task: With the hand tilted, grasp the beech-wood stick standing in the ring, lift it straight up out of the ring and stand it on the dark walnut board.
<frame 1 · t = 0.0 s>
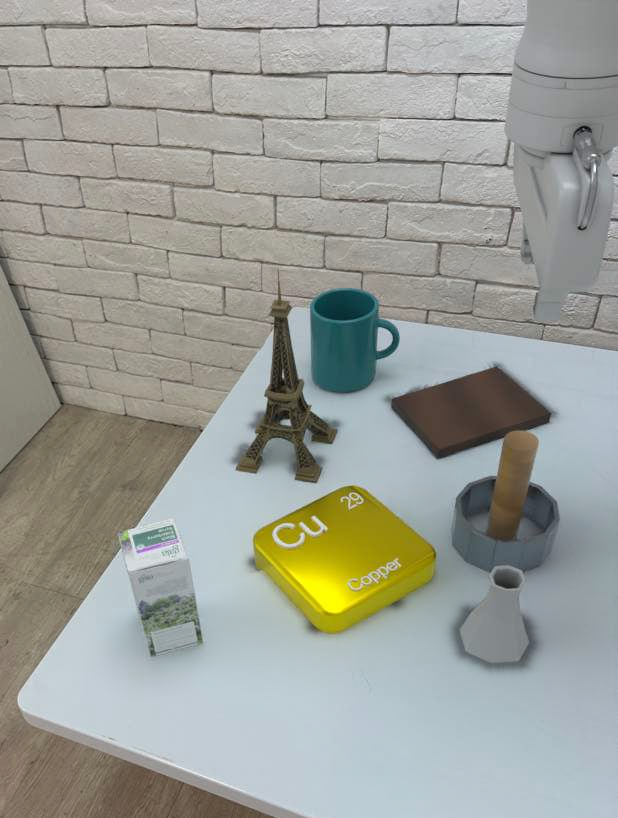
hand: (537, 287, 66), 31 cm above the table, tool pointing down, fingers open, 8 cm apart
ring: (498, 547, 88), on the table
cup: (353, 377, 114), on the table
board: (468, 414, 105), on the table
element tile: (341, 572, 88), on the table
flask: (491, 646, 79), on the table
eiffel tower: (287, 451, 104), on the table
syrup box: (173, 639, 84), on the table
stick: (509, 497, 83), in the ring
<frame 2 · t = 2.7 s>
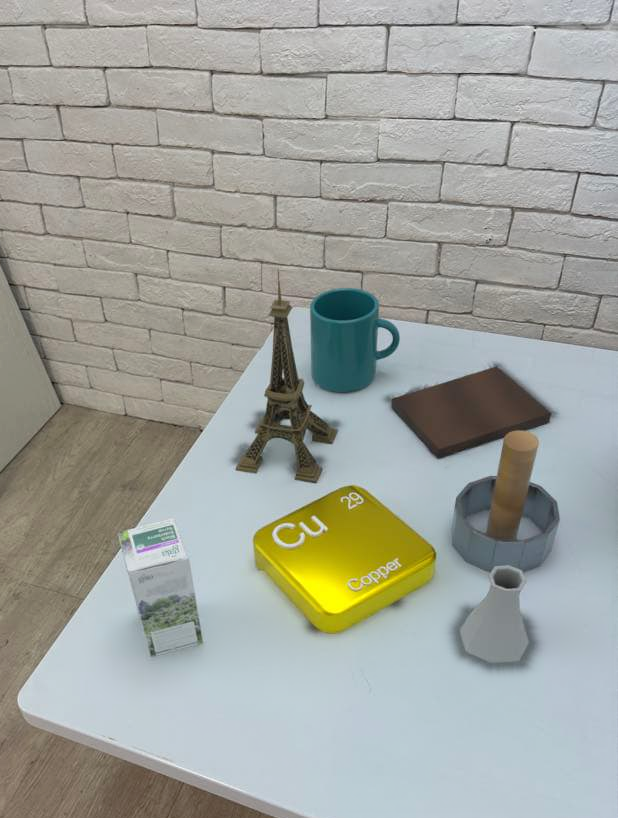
nothing on the table moved.
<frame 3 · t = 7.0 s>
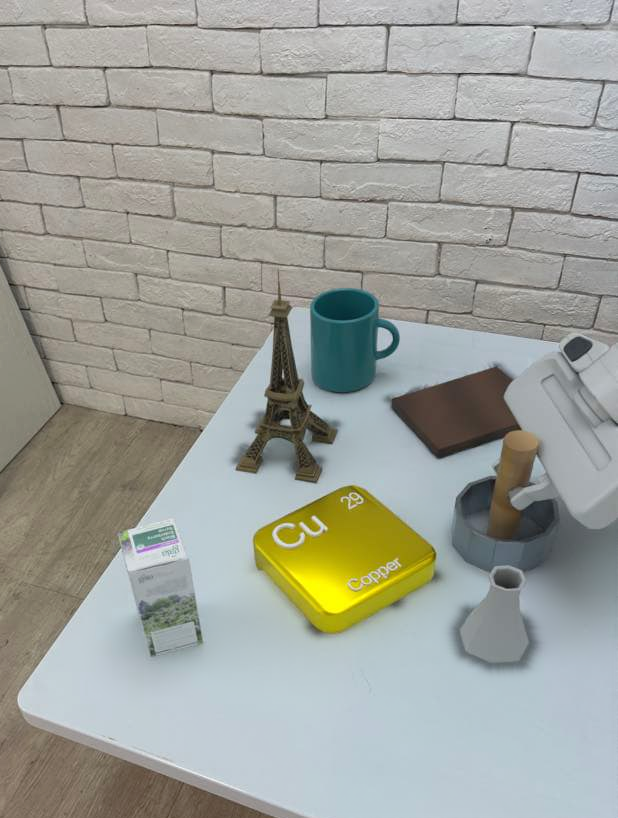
hand: (504, 487, 82), 9 cm above the table, tool tilted 45°, fingers closed on stick, 3 cm apart
stick: (509, 497, 83), in the ring, touching gripper
everything else where it was.
when the fingers open (10 cm above the table, at t = 17.0 s): stick stays where it is, resting on board.
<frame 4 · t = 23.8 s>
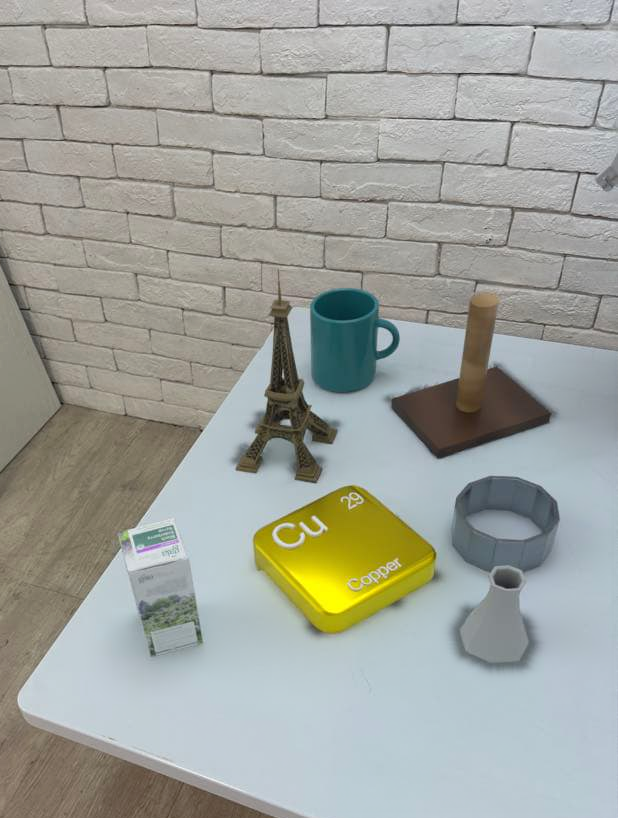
stick: (476, 355, 99), on the board, point 9 cm above the table
everything else where it was.
at the end: stick inside the target area on the board (0.1 cm from its centre), point 9.0 cm above the board's base; stick touching board; the gripper is holding nothing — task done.
